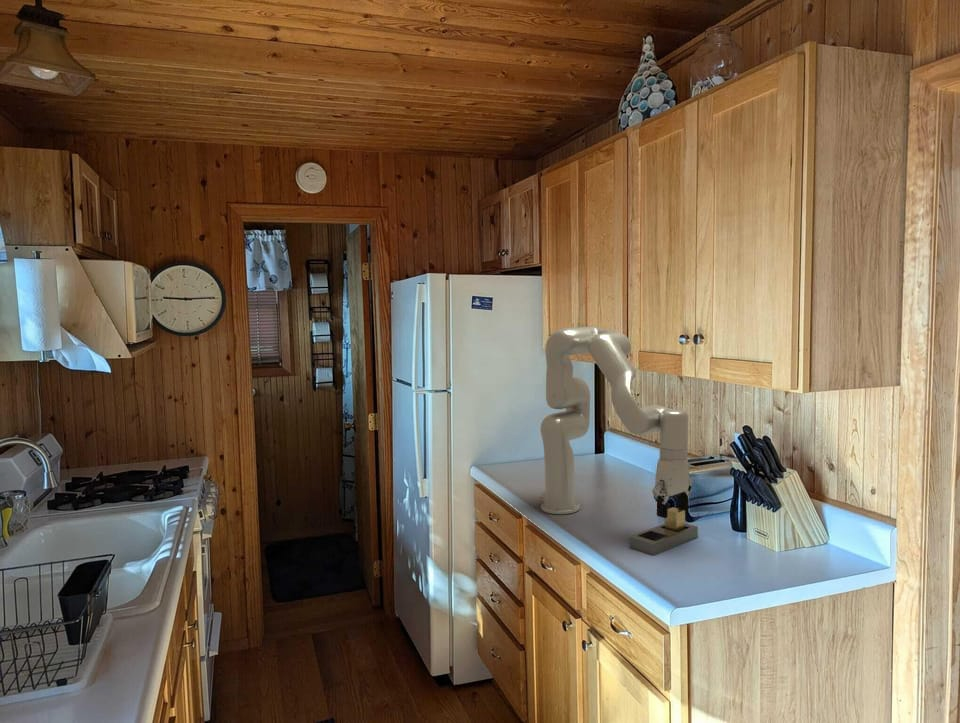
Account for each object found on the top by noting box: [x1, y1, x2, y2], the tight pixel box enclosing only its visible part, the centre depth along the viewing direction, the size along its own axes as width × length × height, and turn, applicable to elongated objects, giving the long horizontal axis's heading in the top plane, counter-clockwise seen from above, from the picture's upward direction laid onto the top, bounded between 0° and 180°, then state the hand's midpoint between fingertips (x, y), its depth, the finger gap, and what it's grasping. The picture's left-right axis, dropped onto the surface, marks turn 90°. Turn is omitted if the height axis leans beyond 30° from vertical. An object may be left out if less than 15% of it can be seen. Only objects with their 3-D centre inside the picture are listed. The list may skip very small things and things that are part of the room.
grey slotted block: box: [628, 522, 699, 556], centre depth 188 cm, size 8×20×3 cm, turn 129°
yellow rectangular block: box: [663, 506, 686, 532], centre depth 191 cm, size 4×4×8 cm
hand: (672, 513), depth 191 cm, fingers open, 9 cm apart
